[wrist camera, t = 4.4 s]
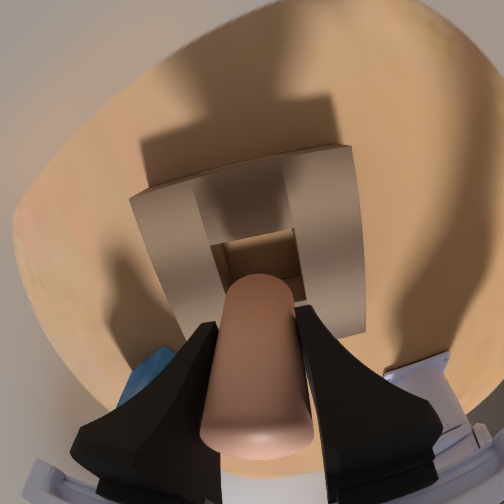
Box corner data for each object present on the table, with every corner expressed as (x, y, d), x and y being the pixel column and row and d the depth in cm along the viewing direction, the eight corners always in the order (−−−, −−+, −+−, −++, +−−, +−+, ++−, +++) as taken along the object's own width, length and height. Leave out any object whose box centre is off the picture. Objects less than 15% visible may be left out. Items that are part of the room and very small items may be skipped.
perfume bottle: (164, 344, 22) (119, 466, 11) (217, 381, 24) (199, 498, 13) (132, 370, 24) (91, 470, 13) (180, 402, 26) (156, 499, 15)
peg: (299, 322, 13) (319, 451, 7) (236, 335, 14) (223, 461, 7) (285, 266, 12) (306, 402, 6) (215, 282, 12) (180, 416, 6)
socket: (354, 307, 20) (365, 332, 17) (203, 334, 21) (196, 360, 19) (336, 143, 15) (351, 146, 13) (148, 187, 17) (128, 198, 14)
